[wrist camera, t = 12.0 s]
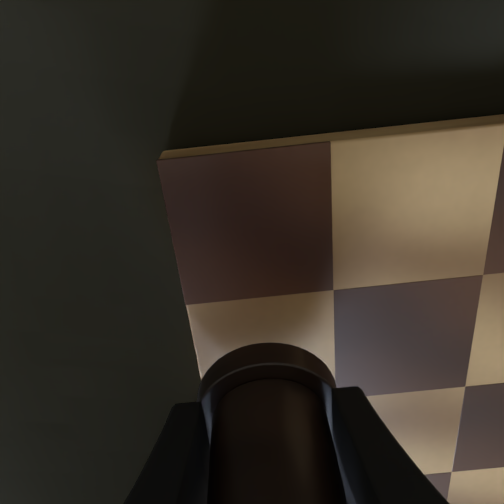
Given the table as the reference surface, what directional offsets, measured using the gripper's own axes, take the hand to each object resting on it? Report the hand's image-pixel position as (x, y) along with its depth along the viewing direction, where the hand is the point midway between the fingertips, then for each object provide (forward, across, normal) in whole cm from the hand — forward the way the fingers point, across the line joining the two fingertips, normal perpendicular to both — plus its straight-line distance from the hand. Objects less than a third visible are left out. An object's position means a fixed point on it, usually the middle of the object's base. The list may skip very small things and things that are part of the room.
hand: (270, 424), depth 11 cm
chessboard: (+3, -6, +4) cm, 8 cm away
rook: (+1, 0, 0) cm, 1 cm away
